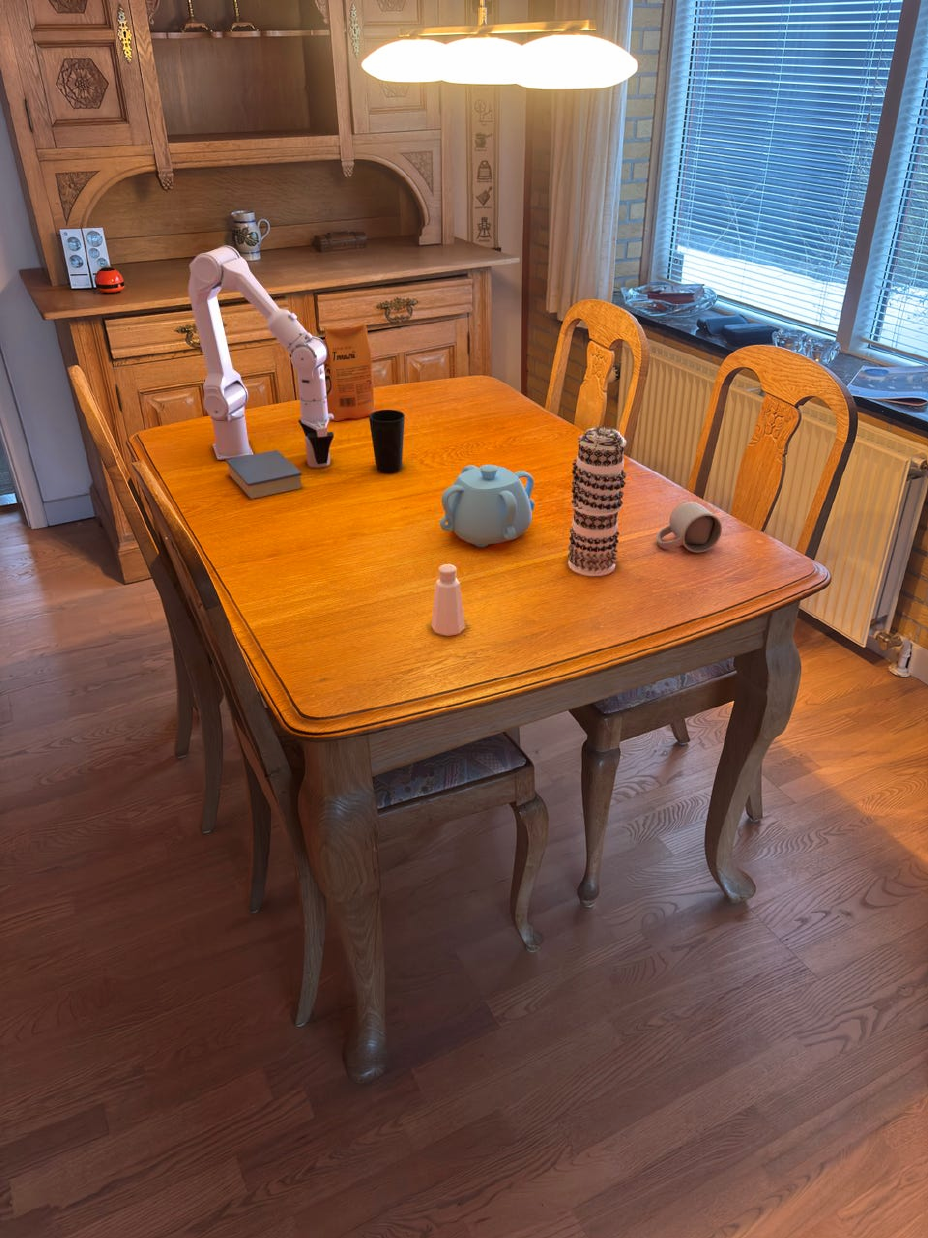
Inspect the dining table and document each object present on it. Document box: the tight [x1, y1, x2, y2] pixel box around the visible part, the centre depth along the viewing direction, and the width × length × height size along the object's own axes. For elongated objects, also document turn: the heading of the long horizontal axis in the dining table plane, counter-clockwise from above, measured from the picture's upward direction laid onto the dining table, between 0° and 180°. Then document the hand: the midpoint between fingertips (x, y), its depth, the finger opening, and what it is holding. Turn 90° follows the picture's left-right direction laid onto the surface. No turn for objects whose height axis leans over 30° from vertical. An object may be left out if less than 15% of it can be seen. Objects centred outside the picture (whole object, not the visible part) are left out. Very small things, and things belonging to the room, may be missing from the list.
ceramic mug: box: [656, 500, 723, 554], centre depth 172 cm, size 11×8×8 cm
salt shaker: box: [431, 563, 466, 637], centre depth 146 cm, size 5×5×11 cm
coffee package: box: [320, 322, 376, 422], centre depth 228 cm, size 10×12×22 cm
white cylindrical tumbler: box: [304, 436, 331, 469], centre depth 205 cm, size 5×5×6 cm
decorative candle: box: [567, 426, 628, 577], centre depth 160 cm, size 9×9×25 cm
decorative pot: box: [439, 464, 536, 548], centre depth 174 cm, size 16×16×14 cm
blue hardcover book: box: [225, 449, 303, 500], centre depth 197 cm, size 15×12×4 cm
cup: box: [368, 409, 406, 474], centre depth 201 cm, size 8×8×12 cm
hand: (318, 456), depth 206 cm, fingers open, 7 cm apart
